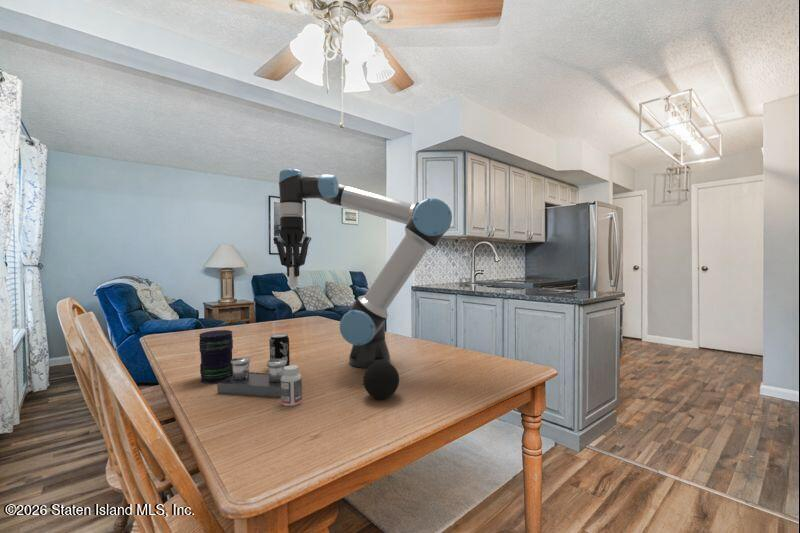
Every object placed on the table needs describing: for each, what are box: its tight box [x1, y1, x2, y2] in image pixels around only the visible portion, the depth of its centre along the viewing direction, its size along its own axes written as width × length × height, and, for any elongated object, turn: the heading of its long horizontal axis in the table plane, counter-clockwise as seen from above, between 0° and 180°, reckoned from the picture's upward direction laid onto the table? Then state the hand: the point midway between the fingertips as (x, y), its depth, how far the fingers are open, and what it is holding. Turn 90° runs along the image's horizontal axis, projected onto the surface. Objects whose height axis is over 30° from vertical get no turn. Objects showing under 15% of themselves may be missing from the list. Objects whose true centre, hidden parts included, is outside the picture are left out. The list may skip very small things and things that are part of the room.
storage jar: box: [198, 329, 234, 384], centre depth 123 cm, size 10×10×15 cm
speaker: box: [362, 361, 400, 400], centre depth 105 cm, size 10×10×10 cm
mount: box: [216, 371, 282, 399], centre depth 113 cm, size 20×11×3 cm, turn 78°
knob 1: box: [231, 356, 251, 380], centre depth 114 cm, size 5×5×9 cm
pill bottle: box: [281, 364, 303, 407], centre depth 102 cm, size 5×5×10 cm
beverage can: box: [269, 332, 291, 366], centre depth 132 cm, size 7×7×12 cm
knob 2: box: [266, 359, 286, 382], centre depth 112 cm, size 5×5×9 cm
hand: (293, 286), depth 128 cm, fingers closed
